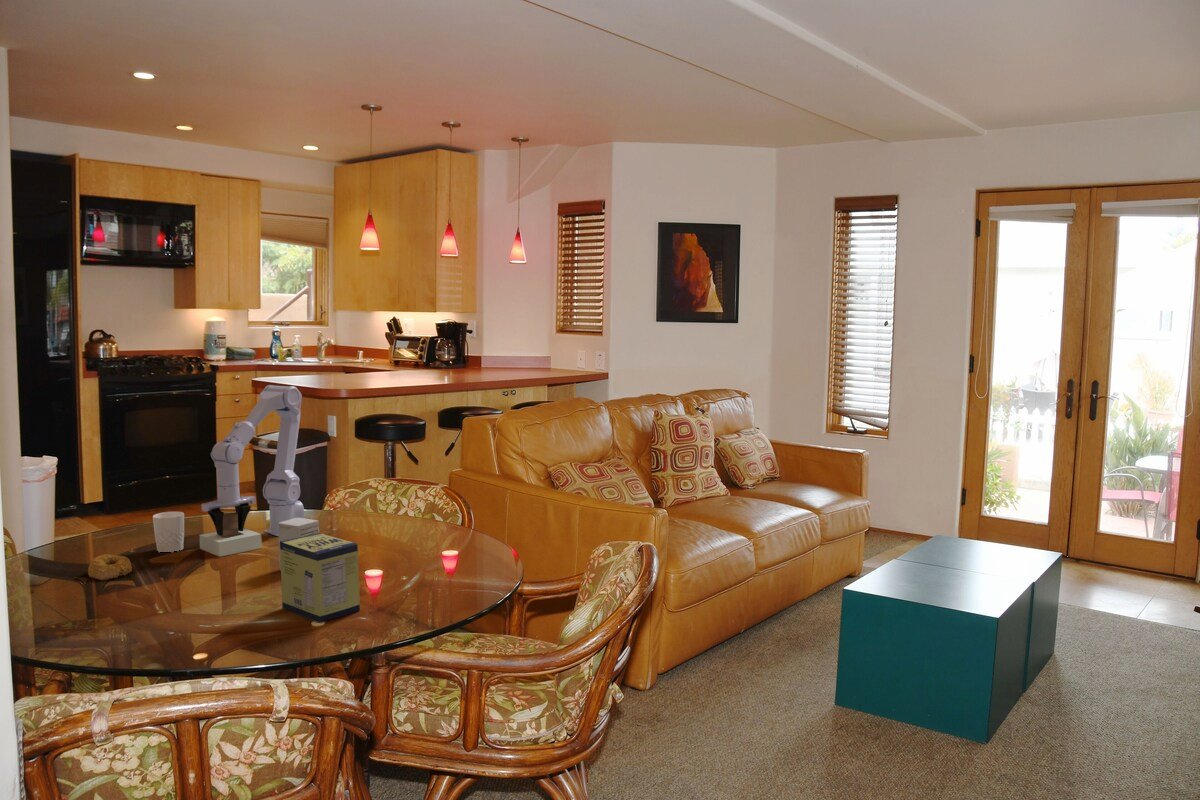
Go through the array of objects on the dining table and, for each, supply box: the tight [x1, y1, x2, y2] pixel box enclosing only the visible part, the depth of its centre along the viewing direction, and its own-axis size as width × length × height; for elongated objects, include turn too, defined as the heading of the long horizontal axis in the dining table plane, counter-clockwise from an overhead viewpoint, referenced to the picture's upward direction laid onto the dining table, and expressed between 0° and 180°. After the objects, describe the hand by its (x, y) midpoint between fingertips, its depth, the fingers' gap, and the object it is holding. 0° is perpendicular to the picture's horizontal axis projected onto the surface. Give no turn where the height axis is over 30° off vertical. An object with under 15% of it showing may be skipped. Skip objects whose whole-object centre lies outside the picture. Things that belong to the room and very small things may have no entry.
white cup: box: [152, 511, 185, 553], centre depth 250 cm, size 8×8×10 cm
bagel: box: [87, 553, 133, 581], centre depth 228 cm, size 10×11×5 cm
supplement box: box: [278, 517, 320, 571], centre depth 232 cm, size 7×7×13 cm
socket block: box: [199, 527, 263, 558], centre depth 252 cm, size 12×12×4 cm
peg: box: [223, 511, 239, 538], centre depth 251 cm, size 4×4×7 cm
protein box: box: [280, 532, 361, 624], centre depth 201 cm, size 10×16×16 cm
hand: (230, 532), depth 252 cm, fingers closed on peg, 5 cm apart
